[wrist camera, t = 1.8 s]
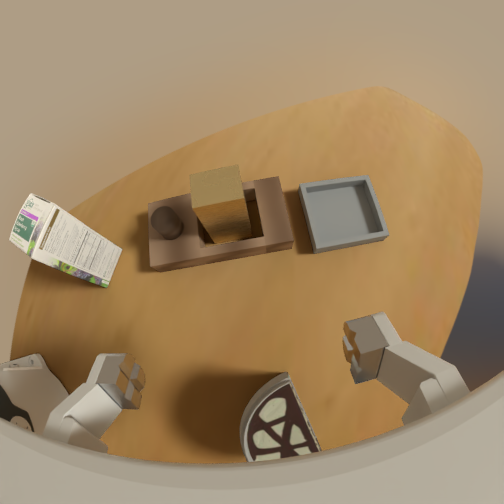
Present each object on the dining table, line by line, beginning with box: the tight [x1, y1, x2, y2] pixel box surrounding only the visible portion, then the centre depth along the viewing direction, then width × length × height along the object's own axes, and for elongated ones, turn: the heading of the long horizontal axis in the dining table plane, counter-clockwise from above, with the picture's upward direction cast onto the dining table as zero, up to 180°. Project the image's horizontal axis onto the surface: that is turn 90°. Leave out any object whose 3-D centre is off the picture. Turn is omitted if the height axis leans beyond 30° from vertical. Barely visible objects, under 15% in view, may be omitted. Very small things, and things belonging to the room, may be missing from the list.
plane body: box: [148, 177, 294, 272], centre depth 30 cm, size 16×8×6 cm, turn 100°
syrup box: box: [9, 193, 122, 288], centre depth 26 cm, size 6×6×14 cm
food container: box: [240, 372, 322, 462], centre depth 21 cm, size 12×6×10 cm, turn 22°
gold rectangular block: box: [190, 165, 252, 244], centre depth 28 cm, size 4×4×10 cm
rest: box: [298, 175, 389, 254], centre depth 31 cm, size 9×8×2 cm
